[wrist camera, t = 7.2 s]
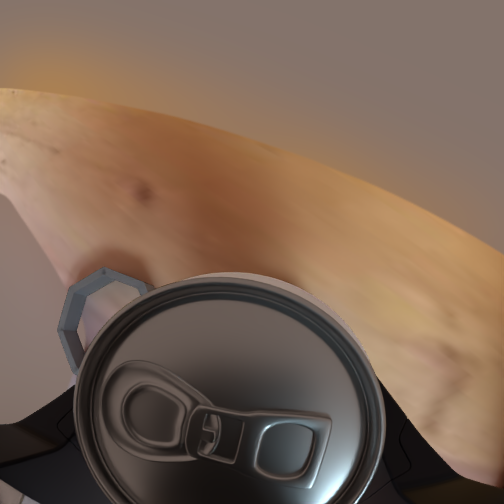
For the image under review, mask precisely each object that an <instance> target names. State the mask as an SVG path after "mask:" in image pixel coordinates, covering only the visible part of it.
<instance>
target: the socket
mask: <svg viewBox="0 0 504 504" xmlns="http://www.w3.org/2000/svg"><path fill="white" fill-rule="evenodd" d="M114 280H117V281H119V282H122V283H124V284H127V285H130V286H132V287H135V288H137V289H138V290H139V293H140V295H141V296H142V295H143V294H146V293H148V292H150V291H152V290H154V289H155V288H154V286H152V285H150V284H147V283H145V282H142V281H140V280H137V279H134V278H132V277H129V276H127V275H124V274H121V273H119V272H116V271H114V270H111V269H109V268H106V267H102V268H101V269H99V270H97V271H96V272H94V273H92V274H91V275H89V276H87V277H86V278H84V279H82V280H81V281H79V282H77V283H76V284H74V285H72V286H71V287H70V288H69V290H68V293H67V297H66V300H65V303H64V307H63V310H62V314H61V317H60V321H59V325H58V329H57V331H58V334H59V337H60V340H61V343H62V346H63V348H64V351H65V354H66V357H67V359H68V362H69V364H70V367H71V370H72V372H73V373H74V374H75V375H78V372H79V368H80V365H81V363H82V360H83V358H84V356H85V352H84V350H83V347H82V345H81V342H80V339H79V336H78V334H77V328H78V324H79V320H80V317H81V314H82V310H83V307H84V304H85V300H86V297H87V296H88V295H90V294H92V293H93V292H95V291H97V290H98V289H100V288H102V287H104V286H105V285H107V284H109V283H111V282H112V281H114Z"/></svg>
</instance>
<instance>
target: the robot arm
mask: <svg viewBox="0 0 504 504" xmlns="http://www.w3.org/2000/svg"><path fill="white" fill-rule="evenodd" d="M376 377H377V376H376ZM377 379H378V377H377ZM378 382H379V385H380V388H381V392H382V395H383V400H384V406H385V414H386V435H385V443H384V449H383V453H382V457H381V461H380V464H379V467H378V469H377V472H376V474H375V476H374V478H373V480H372V482H371V484H370V486H369V488H368V489H367V491H366V492H365V494H364V495H363V497H362V498H361V500H360V501H359V502H358V503H357V504H504V489H502V488H498V487H494V486H491V485H487V484H484V483H480V482H477V481H474V480H471V479H467V478H465V477H463V476H461V475H459V474H458V473H456V472H455V471H454V470H453V469H452V468H451V467H450V466H449V465H448V464H447V463H446V462H445V461H444V460H443V459H442V458H441V457H440V456H439V454H438V453H437V452H436V451H435V450H434V449H433V448H432V447H431V446H430V445H429V444H428V443H427V441H426V440H425V439H424V438H423V437H422V436H421V434H420V433H419V432H418V431H417V429H416V428H415V427H414V425H413V424H412V423H411V421H410V420H409V419H407V416H406V415H405V413H404V412H403V411H402V409H401V408H400V407H399V405H398V404H397V403H396V401H395V400H394V399H393V397H392V396H391V395H390V393H389V392H388V391H387V389H386V388H385V387H384V385H383V384H382V383H381V381H380V380H379V379H378ZM74 390H75V385H73V386H72V387H71V388H69V389H68V390H67V391H66V392H64V393H63V394H62V395H60V396H59V397H57V398H56V399H55V400H53V401H52V402H50V403H49V404H47V405H46V406H44V407H42V408H41V409H39V410H37V411H36V412H34V413H33V414H31V415H29V416H28V417H26V418H25V419H23V420H21V421H19V422H16V423H13V424H0V504H113V503H112V502H111V501H110V500H109V499H108V498H107V496H106V495H105V494H104V493H103V491H102V490H101V489H100V487H99V486H98V484H97V483H96V481H95V480H94V478H93V476H92V475H91V473H90V471H89V469H88V467H87V465H86V463H85V460H84V458H83V456H82V453H81V450H80V447H79V444H78V440H77V436H76V431H75V424H74V413H73V401H74Z"/></svg>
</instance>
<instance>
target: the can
mask: <svg viewBox="0 0 504 504" xmlns="http://www.w3.org/2000/svg"><path fill="white" fill-rule="evenodd" d="M73 413H74V424H75V431H76V436H77V440H78V444H79V447H80V450H81V453H82V456H83V458H84V460H85V463H86V465H87V467H88V469H89V471H90V473H91V475H92V476H93V478H94V480H95V481H96V483H97V484H98V486H99V487H100V489H101V490H102V491H103V493H104V494H105V495H106V496H107V498H108V499H109V500H110V501H111V502H112V503H113V504H357V503H358V502H359V501H360V500H361V498H362V497H363V495H364V494H365V492H366V491H367V489H368V488H369V486H370V484H371V482H372V480H373V478H374V476H375V474H376V472H377V469H378V467H379V464H380V461H381V457H382V453H383V449H384V443H385V435H386V414H385V406H384V400H383V395H382V392H381V388H380V385H379V382H378V379H377V377H376V374H375V372H374V370H373V368H372V366H371V363H370V361H369V358H368V356H367V354H366V352H365V350H364V348H363V346H362V344H361V343H360V341H359V340H358V338H357V337H356V335H355V334H354V332H353V331H352V330H351V328H350V327H349V326H348V325H347V324H346V322H345V321H344V320H343V319H342V318H341V317H340V316H339V315H338V314H337V313H336V312H335V311H334V310H332V309H331V308H330V307H329V306H328V305H326V304H325V303H324V302H322V301H321V300H319V299H318V298H316V297H315V296H313V295H312V294H310V293H308V292H306V291H305V290H303V289H301V288H299V287H297V286H294V285H292V284H290V283H287V282H284V281H282V280H278V279H275V278H272V277H268V276H263V275H258V274H252V273H242V272H220V273H210V274H204V275H199V276H194V277H191V278H187V279H184V280H181V281H178V282H175V283H171V284H168V285H165V286H162V287H159V288H157V289H154V290H152V291H150V292H148V293H146V294H143V295H142V296H140V297H138V298H136V299H135V300H133V301H132V302H130V303H129V304H127V305H126V306H124V307H123V308H122V309H121V310H119V311H118V312H117V313H116V314H115V315H114V316H113V317H112V318H111V319H109V320H108V322H107V323H106V324H105V325H104V326H103V327H102V328H101V330H100V331H99V332H98V334H97V335H96V336H95V338H94V339H93V341H92V342H91V344H90V346H89V348H88V350H87V351H86V353H85V356H84V358H83V360H82V363H81V365H80V368H79V372H78V375H77V379H76V384H75V390H74V401H73Z"/></svg>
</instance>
